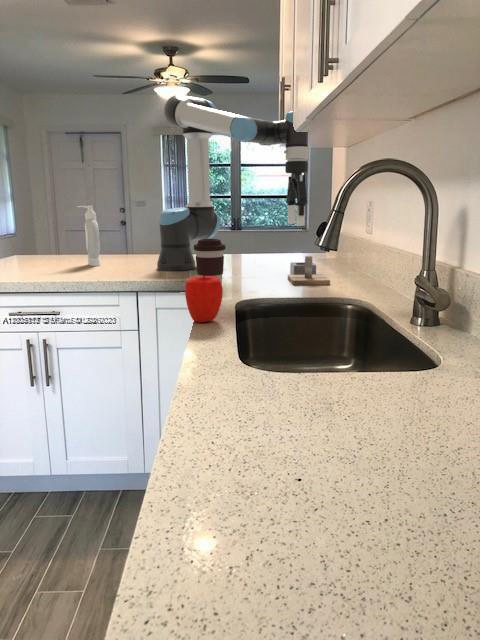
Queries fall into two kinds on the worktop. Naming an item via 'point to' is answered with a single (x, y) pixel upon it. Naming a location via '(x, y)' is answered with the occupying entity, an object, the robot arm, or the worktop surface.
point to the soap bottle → (92, 237)
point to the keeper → (308, 276)
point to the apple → (203, 297)
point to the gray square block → (300, 268)
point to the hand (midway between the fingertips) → (295, 224)
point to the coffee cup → (210, 257)
